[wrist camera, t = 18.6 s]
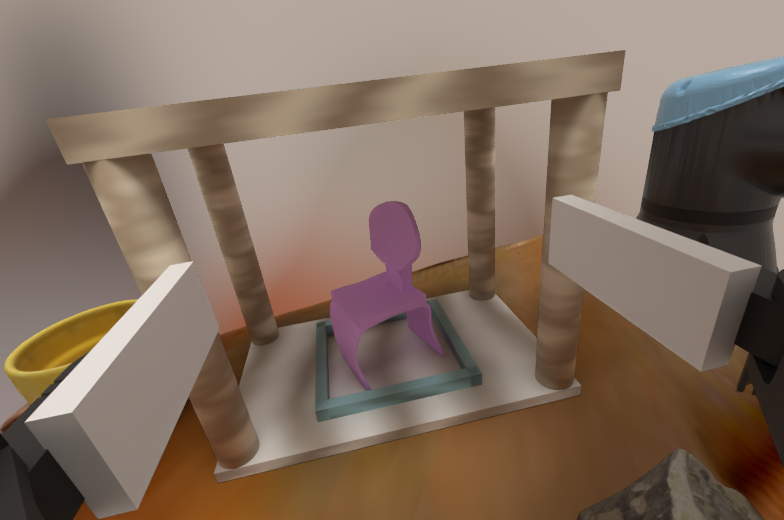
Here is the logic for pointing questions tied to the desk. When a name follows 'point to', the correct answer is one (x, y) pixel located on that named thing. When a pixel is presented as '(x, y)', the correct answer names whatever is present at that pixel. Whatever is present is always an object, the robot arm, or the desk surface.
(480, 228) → the canopy shelf
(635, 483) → the fossil
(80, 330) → the plant pot
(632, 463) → the desk surface
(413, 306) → the toy chair
